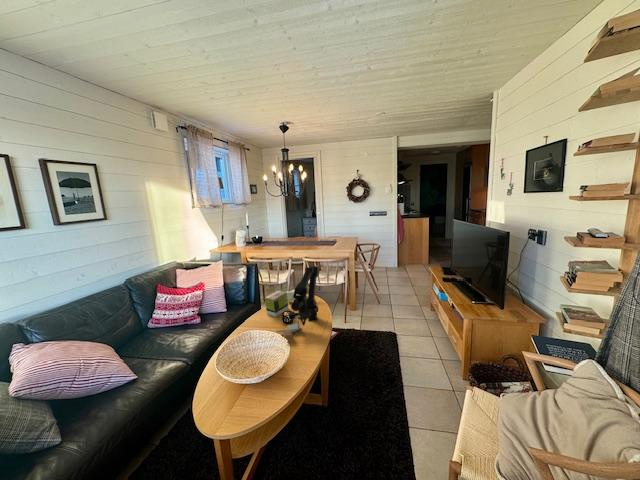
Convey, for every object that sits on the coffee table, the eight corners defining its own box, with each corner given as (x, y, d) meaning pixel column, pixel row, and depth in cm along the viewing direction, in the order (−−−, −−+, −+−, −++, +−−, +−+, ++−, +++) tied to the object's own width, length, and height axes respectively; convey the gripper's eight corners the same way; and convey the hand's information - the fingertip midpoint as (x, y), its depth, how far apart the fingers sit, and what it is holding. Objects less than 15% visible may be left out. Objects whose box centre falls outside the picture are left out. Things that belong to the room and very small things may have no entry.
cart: (287, 329, 176) (286, 319, 174) (298, 327, 177) (298, 317, 175) (287, 334, 170) (286, 323, 168) (299, 332, 171) (299, 322, 170)
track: (270, 331, 175) (270, 331, 175) (301, 327, 178) (301, 326, 178) (270, 338, 167) (270, 337, 167) (302, 333, 171) (302, 332, 171)
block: (284, 338, 167) (284, 331, 165) (291, 337, 167) (291, 330, 166) (285, 342, 162) (284, 335, 161) (292, 341, 163) (291, 334, 162)
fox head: (292, 302, 201) (314, 294, 210) (284, 288, 213) (305, 281, 222) (292, 313, 209) (314, 305, 218) (284, 300, 220) (305, 293, 229)
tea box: (280, 306, 211) (278, 289, 208) (289, 309, 205) (287, 292, 202) (266, 314, 199) (264, 296, 196) (275, 317, 193) (273, 299, 190)
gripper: (288, 311, 161) (290, 333, 165) (317, 307, 164) (319, 329, 168) (287, 303, 172) (289, 324, 175) (315, 300, 175) (316, 320, 178)
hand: (303, 325), depth 174 cm, fingers closed
